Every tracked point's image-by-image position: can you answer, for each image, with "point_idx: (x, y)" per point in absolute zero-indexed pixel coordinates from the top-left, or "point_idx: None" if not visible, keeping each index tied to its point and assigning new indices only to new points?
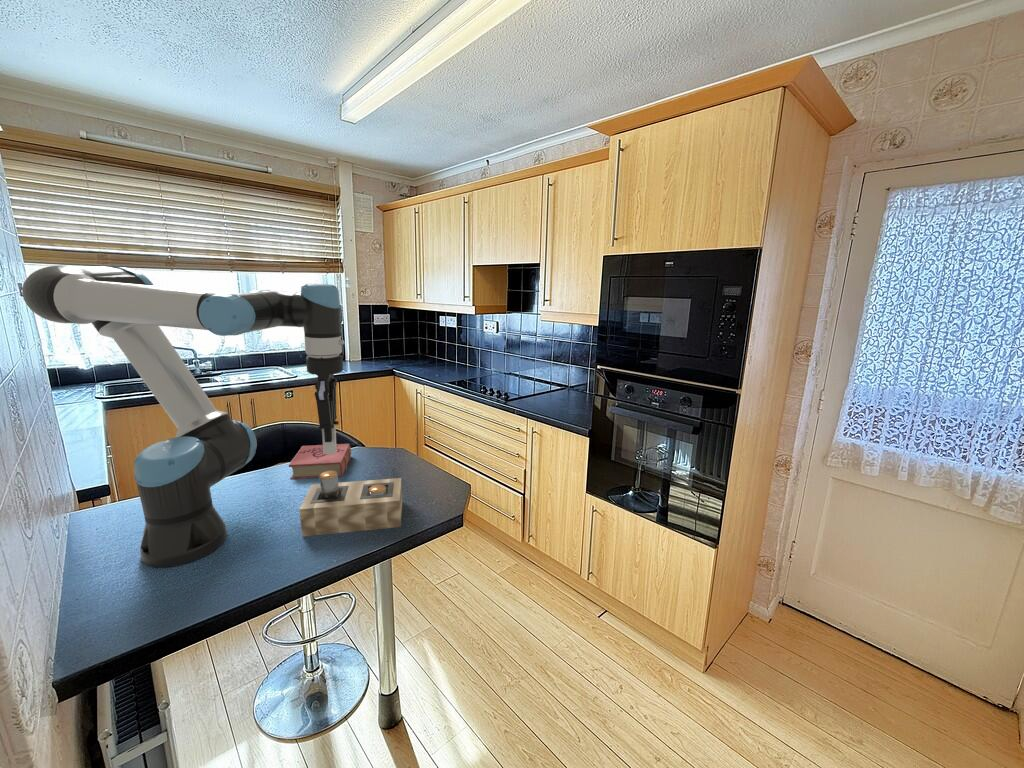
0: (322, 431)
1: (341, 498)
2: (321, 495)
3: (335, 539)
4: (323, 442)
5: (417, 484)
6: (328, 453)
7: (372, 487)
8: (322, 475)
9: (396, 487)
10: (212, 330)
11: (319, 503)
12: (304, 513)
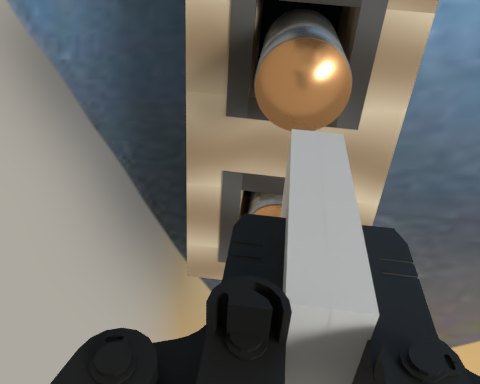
0: (285, 270)
1: (243, 106)
2: (287, 18)
3: (173, 48)
4: (289, 188)
5: (437, 282)
6: (287, 163)
7: None
8: (300, 55)
9: None
10: None
11: (223, 14)
12: None
